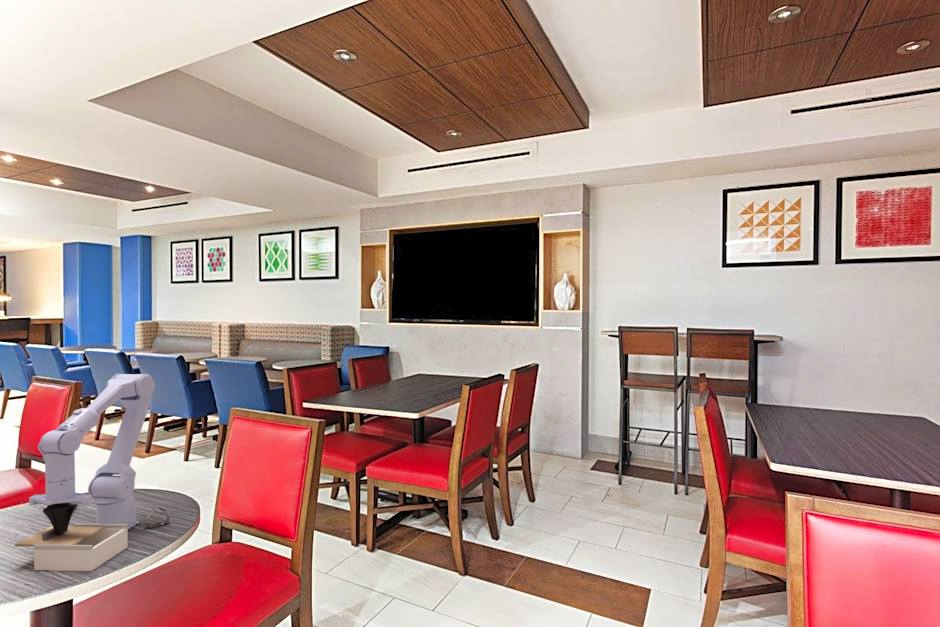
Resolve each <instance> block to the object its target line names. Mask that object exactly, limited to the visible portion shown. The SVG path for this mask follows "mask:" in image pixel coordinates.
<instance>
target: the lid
mask: <svg viewBox="0 0 940 627" xmlns="http://www.w3.org/2000/svg"><path fill="white" fill-rule="evenodd" d="M102 529H104V526H74V525H68V529H67V532H65V533H63V534H61V535H56V534H55V531H54V528H53V526H52V525H51V526H49V527H47V528H44V529H43V530H41V531H39V532H36V533H35V534H33V535H31V536H29V537H26V538H25V539H23V540H21V541H19V542H17V543H15V544H14V547H23V548H24V547H29V548H30V547H32V548H34V545H76V544H78V543H79V542H81V541H83V540H85V539H86V538H88V537H90V536H91V535H93V534H95V533H97V532H98V531H100V530H102Z"/></svg>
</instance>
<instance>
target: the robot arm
mask: <svg viewBox="0 0 940 627" xmlns="http://www.w3.org/2000/svg"><path fill="white" fill-rule="evenodd" d="M155 388H156V383H155V381H154V379H153V377H152V376H151V375H150V374H149V373H142V374H141V373H135V374H134V373H133V374H132V373H115V375H113V376H112V377H111V378H110V379H109V380H108V381H107V383H106V387H105V388H104V389H103V391H101V393H100V394H99V395H98V396H97V397H95V399H94V400H93V401H91V403H90V404H89V405H88V406H87V407H86V408H85V407H82V408H79V409H75V410H74V411H73V412H72V414H71V415H70V416H69V417H68V418H67V419H66V420H65V421H63V423H61V424H59V426H58V427H57V428H56V429H55V430H54V429H53V430H50V431H48V432H46V433H45V434H43V435H42V437H41V438H40V441H39V443H38V444H37V449H38V451H39V452H40V453H41V454H42V460H43V461H44V466H45V467H44V469H45V470H44V471H45V472H44V478H45V493H43V494H34V495H32V496H30V497H28V502H29V506H35V505H43V506H46V507H45V508H43V509H42V512H43V514H44V515H45V516H46V518H47V519H48V521H50V524H51V526H53V528H54V531H55V534H56V535H61V534H63V533H65V532H67V529H68V526H70V521H71V520H72V519H71V518H72V516H73V515H74V514H73V513H74V512H75V510H76V508H77V507H78V505H82V507H83V506H87V505H90V504H92V503H95V519H96V521H95V524H127V531H128V530H130V529H132V528H134V527H135V526H136V524H137V525H138V524H140V521H139V520H137V501H136V498H135V497H134V496H133V492H134V489H135V487H136V486H135V484H136V482H135V480H136V479H135V478H136V476H137V472H136V471H135V469H133V467H132V466H131V462H132V460H133V457H134V453H135V450H136V447H137V443H138V442H139V438H140V436H141V431H142V429H143V427H144V426H143V425H144V424H145V420H146V417H147V413H148V411H149V408H150V403H151V400H152V397H153V393H154V391H155ZM117 401H119V402H120V403H121V404H123V405H124V407H125V411H124V415H123V416H122V420H121V424H120V426H119V429H118V431H117V435H116V437H115V440H114V444H113V446H112V448H111V451H110V455H109V457H108V460H107V463H105V464H103V465H102V466H101V467H99V468H98V469H97V470H96V472H95V474H94V476H93V477H92V479H91V480H90V482H89V484H88V487H87V494H85V493H80V492H76V472H75V471H76V468H75V467H76V465H75V464H76V462H75V452H76V451H78V450H79V449H80V446H81V443H82V442H83V440H84V438H85V436H86V435H87V434H88V433H89V432H90V431H91V430H92V429H93V428H94V427H95V426H96V425H97V424H98V422H99V418H100V417H99V416H100V415H101V414H103V413H104V412H105V411H106V410H107V409H109V408H110V407H111V406H112V405H113V404H115V403H116V402H117ZM131 527H132V528H131Z"/></svg>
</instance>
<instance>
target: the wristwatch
mask: <svg viewBox="0 0 940 627" xmlns="http://www.w3.org/2000/svg"><path fill="white" fill-rule="evenodd" d="M155 513H158V514H162V515H166V519H165V521H163V522H164V524H165V523H167V524H168V523H169V520H170V514H169V513H168V510H166V509H165V508H161V507H156V508H154V509H153V510H151V512H150V513H149V514H148V515H146V516H145V517H144V518H143V519H144V520H143V524H144V525H145V526H147V527H148V528H152V527H154V528H157V527H156V526H159V527H161V526H160V525H161V524H160V523H161V522H156V523H148V522H147V520H148V519H149V518H150V517H152V515H154V514H155ZM165 525H166V524H165ZM152 529H153V528H152Z"/></svg>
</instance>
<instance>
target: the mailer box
mask: <svg viewBox="0 0 940 627" xmlns="http://www.w3.org/2000/svg"><path fill="white" fill-rule="evenodd" d="M73 526H104V529H102V530H100V531H98V532H97V533H95V534H93V535H91V536H90V537H88V538H86V539H85V540H83V541H81V542H79V543H78V544H76V545H34V547H33V568H34V569H33V571H34V570H50V571H49V572H61V571H62V572H93V571H94V570H95V569H97V568H99V567H101V566H102V565H103V564H105V563H107V562H108V561H110V560H111V559H113V557H115V556H117V555H118V554H120V553H122V552H123V551H124V550H126V549H127V548H129V546H128V545H129V542H128V541H129V539H128V538H129V537H128V535H129V534H128V530H127V524H96V523H74V524H73ZM107 560H108V561H107ZM104 562H105V563H104ZM51 570H52V571H51ZM53 570H54V571H53Z"/></svg>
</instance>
